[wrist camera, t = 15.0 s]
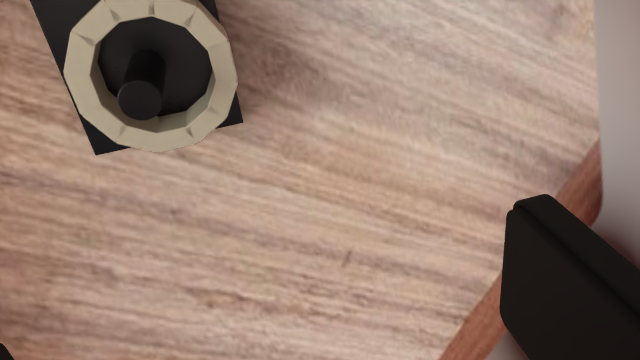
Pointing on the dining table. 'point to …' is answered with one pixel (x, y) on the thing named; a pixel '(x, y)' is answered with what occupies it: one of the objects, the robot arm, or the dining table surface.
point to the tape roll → (102, 106)
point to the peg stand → (137, 64)
